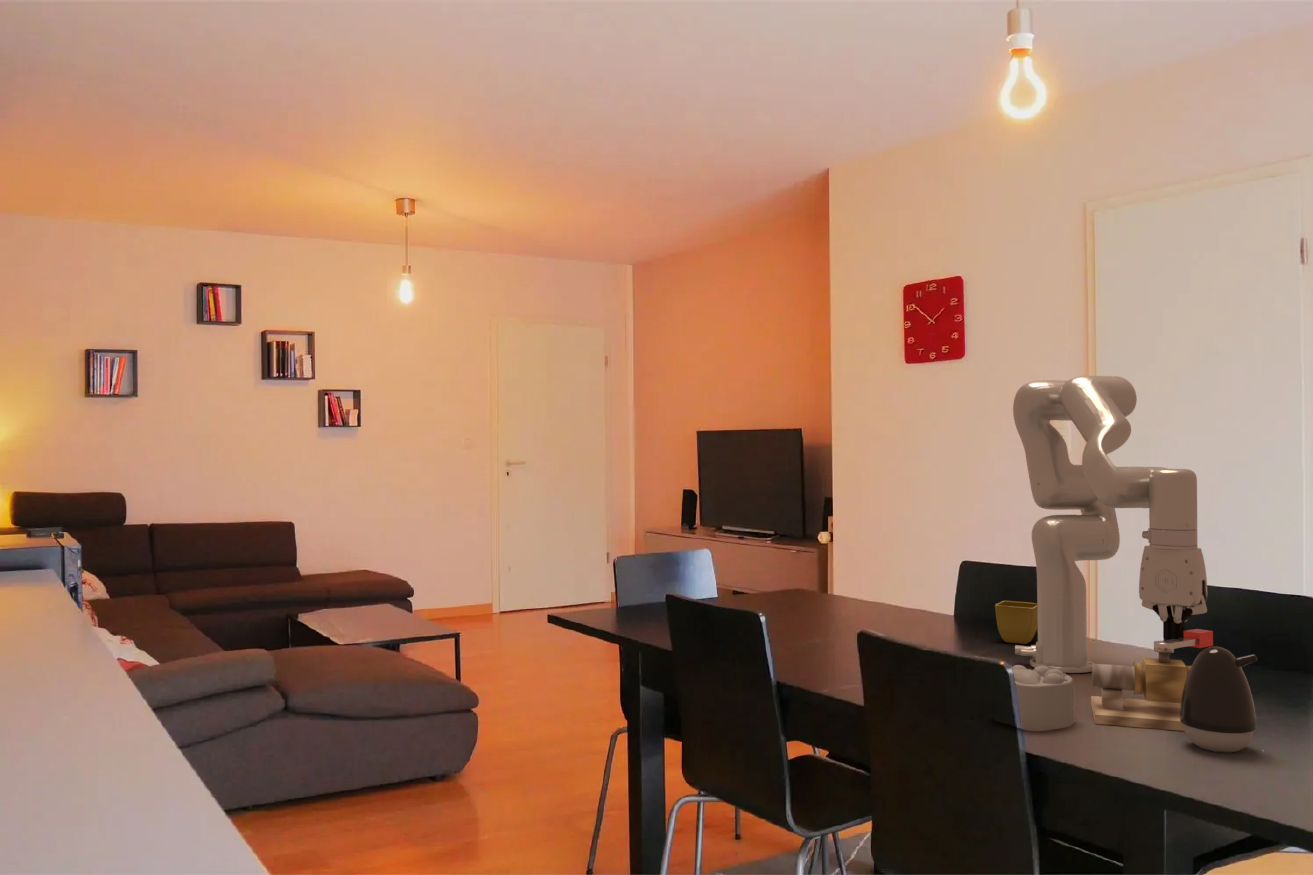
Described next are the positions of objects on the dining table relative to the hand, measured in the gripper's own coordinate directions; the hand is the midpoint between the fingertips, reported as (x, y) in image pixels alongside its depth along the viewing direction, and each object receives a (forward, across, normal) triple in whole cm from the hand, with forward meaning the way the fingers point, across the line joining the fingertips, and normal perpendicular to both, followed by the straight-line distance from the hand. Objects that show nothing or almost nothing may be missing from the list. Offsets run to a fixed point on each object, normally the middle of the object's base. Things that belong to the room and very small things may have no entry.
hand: (1174, 644), depth 180 cm
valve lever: (0, +3, -4) cm, 5 cm away
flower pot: (+12, -52, +37) cm, 65 cm away
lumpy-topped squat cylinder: (+11, -11, -26) cm, 30 cm away
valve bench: (+11, +2, -9) cm, 14 cm away
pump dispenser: (+11, +15, -20) cm, 27 cm away
